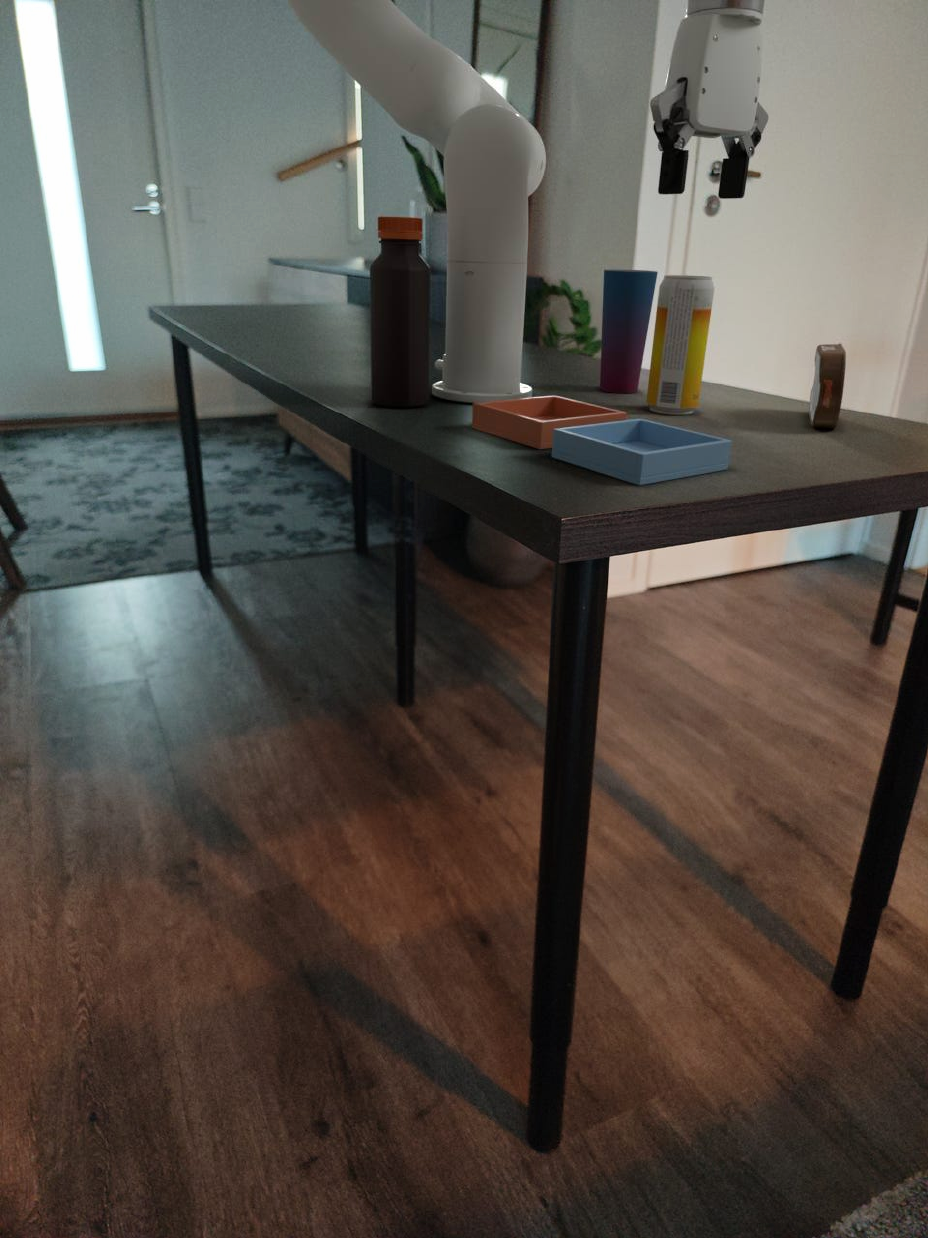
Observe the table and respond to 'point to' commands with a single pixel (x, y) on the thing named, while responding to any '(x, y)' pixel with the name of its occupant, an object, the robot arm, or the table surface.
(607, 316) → the cup
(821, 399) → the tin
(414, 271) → the bottle
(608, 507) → the table surface
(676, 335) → the beer can
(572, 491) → the table surface
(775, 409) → the table surface
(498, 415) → the terracotta tray
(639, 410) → the table surface
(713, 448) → the blue tray
